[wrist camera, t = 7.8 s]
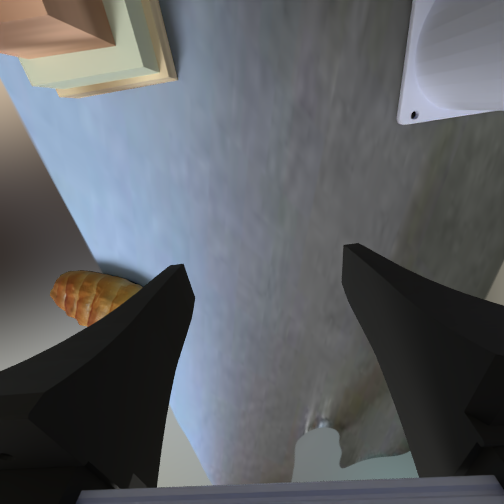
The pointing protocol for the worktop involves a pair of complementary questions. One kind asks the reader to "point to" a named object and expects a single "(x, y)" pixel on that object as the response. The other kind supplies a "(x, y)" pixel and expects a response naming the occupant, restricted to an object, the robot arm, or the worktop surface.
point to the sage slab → (101, 54)
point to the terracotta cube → (52, 27)
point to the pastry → (91, 294)
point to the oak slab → (165, 75)
